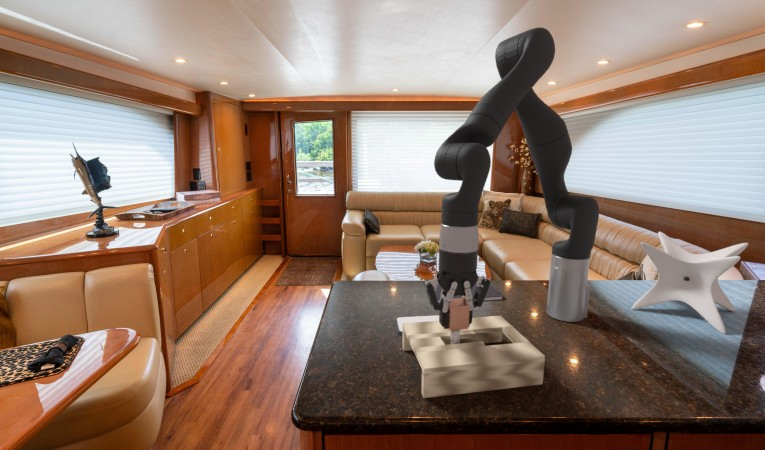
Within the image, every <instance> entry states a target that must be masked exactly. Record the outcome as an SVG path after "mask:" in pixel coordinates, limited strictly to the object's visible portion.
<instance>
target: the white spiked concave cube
mask: <svg viewBox="0 0 765 450" xmlns="http://www.w3.org/2000/svg"><path fill="white" fill-rule="evenodd" d="M657 234H658V238H659V241H660V244H661V246H662V249H663V250H661V249H660V248H657V247H656V246H654V245H652V244H650V243H647V242H645V241H640V246H641V248H642V249H643V251H644V252H645V253H646V256H647V257H648V258H649V259H650V260H651V261H652V263H653V265H654V266H655V268H656V271H658V278H657V280H656V282H655V283H654V284H653V285H652V286H651V287H650V288H649V290H648V291H646V292H645V293H644V294H643V295H642V296H641V297H640V298H638V299H637V301H635V303H633V305H632V306H631V310H633V309H634V310H641V309H644V308H648V307H651V306H655V305H659V304H663V303H668V302H672V301H675V302H676V301H677V302H678V301H680V302H682V303H685V304H687V305H689V306H690V307H691V308H693V310H695V311H696V312H697V313H699V314H700V316H701V317H702V318H704V320H705V321H707V322H708V323H709V324H710V325H711V326H712V327H713V328H714V329H715V330H716V331H718V332H719V333H721V334H722V335H726V334H727V331H726V327H725V324H724V322H723V320H722V317H721V314H720V312H719V310H718V307H717V306H719V307H721V308H723V309H725V310H728V311H730V312H736V308H735V306H734V304H733V303H732V302H731V300H730V299H729V298H728V296H727V295H726V293H725V292H724V291H723V289H722V288H721V286H720V283H719V281H718V280H719V279H718V278H720V277H721V276H722V275H723V274H724V273H726V272H727V271H728V270H730V269H731V268H732V267H734V266H735V265H736V264H737V263H738V262H739V261H740V260H741V256H740V254H742V252H743V251H744V250H745V249H746V248H747V247H748V246H749V242H742V243H738V244H733V245H730V246H727V247H724V248H721V249H718V250H714V251H711V252H708V253H707V252H706V253H702V254H701V253H700V254H696V253H692V252H690V251H688V250H686V249H684V248H683V247H682V246H680V245H679V244H678V243H677V242H676V241H674V240H673V239H672V238H670V236H668V235H667V234H665V233H664V232H662V231H658V233H657Z"/></svg>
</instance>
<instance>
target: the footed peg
mask: <svg viewBox="0 0 765 450" xmlns="http://www.w3.org/2000/svg"><path fill="white" fill-rule="evenodd" d="M469 308H470V306H469V305H468V304H467V303H466V301H465V300H463V298H454V299H452V302H451V303H450V305H449V308H448V313H449V315H448V329H449V330H450V344H460V329H469Z"/></svg>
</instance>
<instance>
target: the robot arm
mask: <svg viewBox="0 0 765 450" xmlns="http://www.w3.org/2000/svg"><path fill="white" fill-rule="evenodd" d="M553 37H554V36H553V35H552V34H551V32H550V30H548V29H547V28H544V27H534V28H531V29H527V30H525V31H523V32H520V33H518V34H516V35H513V36H511V37H508V38H507V39H504V40H502V41H500V43H498V45H497V46H496V49H495V56H494V58H495V65H496V69H497V72H498V75H499V78H500V81H498V82H497V83H496V84H495V85H494V86H492V88H490V89H489V90H488V91H487V92H486V93H485V94H484V95H483V96H482V97H481V98H480V99H479V100H478V102H477V103H476V104H475V105H474V107H473V109H472V111H471V112H470V114H469V115H468V117H467V118H466V120H465V122H464V123H463V124H462V125H461V126H459V127H458V128H457V129H456V130H455V131H454V132H452V134H450V135H449V136H448V137H447V138H446V139H445V140H444V141H443V143H442V144H440V146H439V147H438V149H437V151H436V154H435V157H434V162H433V166H434V171H435V172H436V175H438V177H440V178H441V179H444V180H446V181H447V180H448V181H459V182H461V181H462V182H461V185H460V187H459V190H457V191H456V192H450V193H447V194H445V195H444V196H443V197H442V199H441V200H442V201H441V215H440V216H441V217H440V218H441V221H440V229H439V230H440V231H439V245H438V247H439V252H438V272H437V274H436V277H435V278H432V279H425V280H424V281H423V286H424V289H425V292H426V294H427V295H426V296H427V299H428V301H429V304H430V306H431V307H432V308H433V309H434V311H439V313H438V315H439V322H440V324H441V326H443V328H444V329H448V315H449V313H448V308H449V305H450V303H451V302H452V299H453V296H457V295H460V296H462V298H463V300H465V301H466V303H467V304H468V305H469V306H470V308H469V326H470V324H471V323H472V318H473V311H474V309H476V308H477V307H478V308H480V307H482V306H483V304H484V302H485V300H484V299H485V296H486V294H487V291H488V288H489V286H490V285H491V280H490V279H488V278H487V277H486V276H484V275H482V276H479V275H478V273H477V269H478V254H479V245H480V244H479V226H478V225H479V208H480V207H479V205H480V201H481V198H482V196H483V191H484V188H485V186H486V182H487V180H488V177H489V173H490V169H491V165H492V160H491V158H492V157H491V154H490V152H489V150H488V148H489V147H492V145H494V144H495V142H496V141H497V140H498V138H499V136H500V134H501V132H502V131H503V129H504V127H505V125H506V124H507V122H508V120H509V119H510V117H511V116H512V114H513V112H514V111H515V112H516V114H517V115H516V116H517V118H518V120H519V124H520V127H521V129H522V132H523V135H524V139H525V141H526V144H527V148H528V151H529V153H530V157H531V158H532V161H533V164H534V166H535V170H536V173H537V177H538V180H539V182H540V186H541V191H542V195H543V198H544V203H545V209H546V213H547V216H548V219H549V221H550V222H551V224H552V225H554V226H555V227H557V228H559V229H563V230H568V231H570V233H569V237H568V239H565V240H559V241H555V242H553V243H552V247H551V255H550V256H551V257H550V268H549V279H548V280H549V281H548V290H547V302H546V310H545V311H546V314H547V315H548V316H549V317H551V318H553V319H555V320H559V321H561V322H569V323H577V322H580V321H582V320H584V319H587V318H588V312H589V311H588V310H589V301H590V292H591V285H590V283H588V280H589V272H590V271H589V270H590V262H591V261H590V260H591V253H592V250H593V248H594V245H595V241H596V235H597V229H598V224H599V217H600V208H599V204H598V201H597V200H596V199H595V198H594V197H592V196H587V195H577V194H570V193H569V191H568V189H567V185H566V181H565V173H566V170H567V167H568V166H569V162H570V159H571V156H572V152H573V146H572V141H571V137H570V134H569V133H570V132H569V130H568V128H567V127H568V126H567V124H566V122H565V120H564V118H562V116H560V114H558V113H557V112H556V111H555V110H554V109H553V108H551V106H549V105H548V104H547V103H546V102H544V100H542V99H541V98H540V97H539V96H538V94H537V93H536V92H535V90H534V89H533V88H534V86H535V85H536V84H537V83H538V82H539V80H540V79H541V78H542V77H543V76H544V75H545V74H546V72H547V71H548V70H549V69H550V67H551V65H552V64H553V61H554V59H555V54H556V45H555V44H556V43H555V41H554V38H553ZM475 283H476V285H477V288H476V290H475V293H474V295H473V298H472V293H471V289H472V287H473V286H474V285H475ZM437 285H440V286H441V287H442V291H441V298H440V302H438V300H437V297H436V294H435V290H436V289H437Z"/></svg>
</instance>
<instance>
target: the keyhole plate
mask: <svg viewBox="0 0 765 450" xmlns="http://www.w3.org/2000/svg"><path fill="white" fill-rule="evenodd" d="M503 334H504V336H506V338H507V339H509V340H510V341H511V342H512V343H504V344H493V343H500V342H503ZM401 337H402V341H401V342H402V350H403V352H407V351H413V353H414V355H415V357H416V359H417V362H418V363H419V365H420V369H421V386H420V387H421V388H420V389H421V392H420V393H421V395H422V398H423V399H427V398H437V397H445V396H453V395H461V394H470V393H471V394H472V393H479V392H487V391H497V390H504V389H513V388H521V387H530V386H539V385H543V382H544V374H545V362H546V361H545V360H546V356H545V354H543V353H542V352H541V351H540V350H539V349H538V348H536V347H535V346H534V345H533V344H532V342H530V341H529V340H528V339H527V338H526V337H525V336H523V335H522V334H521V333H520V332H519V331H518V330H517V328H514V326H513V325H511V324H510V323H509V322H508V321H507V320H506V319H505V318H503V316H502V315H490V316H480V317H479V316H478V317H472V323H471V324H470V326H469V329H460V344H450V330H449V329H444V328H443V326H441V324H440V322H439V321H428V322H416V323H404V324H403V335H402V336H401ZM489 343H490V345H486V344H489ZM491 343H492V344H493V345H491Z"/></svg>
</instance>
